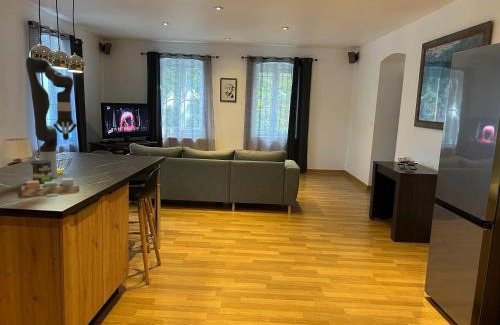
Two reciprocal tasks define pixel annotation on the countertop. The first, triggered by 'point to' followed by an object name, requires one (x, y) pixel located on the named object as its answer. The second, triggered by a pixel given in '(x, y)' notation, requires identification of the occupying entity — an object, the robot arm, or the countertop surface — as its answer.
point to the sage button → (51, 184)
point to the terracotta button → (32, 184)
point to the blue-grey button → (67, 181)
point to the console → (49, 189)
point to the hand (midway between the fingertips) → (65, 139)
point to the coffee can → (41, 171)
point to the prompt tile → (52, 194)
